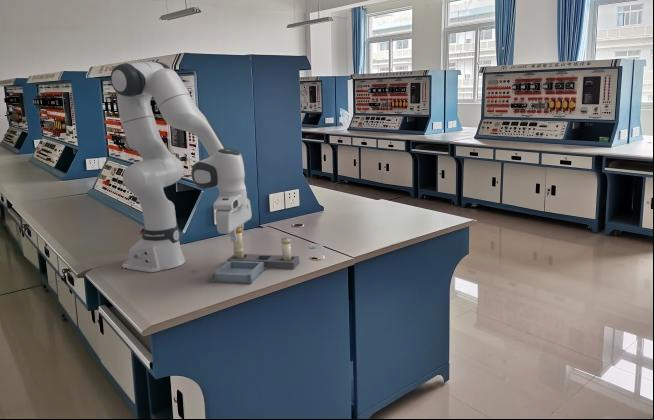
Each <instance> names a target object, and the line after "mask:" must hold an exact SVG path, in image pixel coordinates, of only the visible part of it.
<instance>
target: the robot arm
mask: <svg viewBox="0 0 654 420" xmlns="http://www.w3.org/2000/svg"><path fill="white" fill-rule="evenodd" d="M110 83H111V86H112V88H113V90H114V92H115V93H116V94H117V97H116V100H117V101H116V103H117V109H118V114H119V115H118V116H119V119H120V123H121V126H122V129H123V132H124V135H125V138H126V141H127V145H128V146H129V147H130V148H131V149H133V150H135V151H136V152H137V153H138V155H140V157H141V159H142V160H140V161H136V162H134V163H133V164H131V165H129V166H128V167H126V168H125V169H124V171H123V173H122V181H123V185H124V187H125V188H126V189H127V190H128V191H129V192H130V193H132V194H133V195H135V197H136V199H137V201H138V202H139V205H140V209H141V212H142V216H143V217H142V218H143V224H144V228H142V229H141V230H139V231H138V235H141V234H142V235H141V238H140V239H138V241H137V242H135V243H134V244H133V245H132V246H131V247H130V249H129V250H128V253H127V260H125V261H124V262H123V263H122V267H123V268H122V269H125V268H127V269H128V270H132V271H138V272H139V271H140V272H146V273H155V272H156V273H157V272H159V271H163V270H170V269H174V268H178V267H180V266H182V265H184V263H185V262H186V258H185V256H184V254H183V253H184V252H183V251H182V247H181V243H180V231H179V225H178V223H177V217H176V216H177V215H176V209H175V208H176V207H175V204H174V202H172V200H169V199H168V198H167V196H166V194H165V191H164V188H167V187H169V186H172V185H175V184H176V183H177V182H178V181H179V180H181V178H182V177H183V176H184V166H183V163H182V161H181V160H180V159H179V158H177V157H176V156H175V155H173V154H172V153H171V152H170V150H169V149H168V147H167V146H166V145H165V142H164V141H163V139H162V137H161V134H160V131H159V129H158V124H157V122H156V119H155V115H154V113H153V109H152V106H151V100H152V98H153V99H154V102H155V104H156V105H157V109H158V110H159V112H160V114H161V116H162V118H163V119H164V121H165V122H166V123H167V124H168V125H169V126H170V127H172V128H174V129H177V130H181V131H184V132H187V133H188V134H189V133H190V134H192V135H194V136H195V137H196V138H197V139H198V140H199V141H200V142H201V145H202V146H203V147H204V149H205V150H206V152H207V154H208V155H209V157H207V158H205V159H201V160H199V161H197V162H195V163H194V164H193V166H192V167H191V173H190V174H191V179H192V182H193V183H194V184H195V187H198V189H200V190H201V189H202V190H209V189H213V188H217V189H218V196H217V198H216V200H215V201H214V203H213V205H212V206H213V210H216V211H215V214H214V215H215V222H216V230H217V232H218V234H222V235H228V234H229V236H230V241H231V242H232V243H233V242H236V241H237V240H238V235H236V233H235V232H236V228H238V227H239V226H241V229H242V237H243V238H244V228H245V223H247V222H248V221H250V220H251V219H252V215H253V213H252V205H251V201H250V199H249V198H248V196H247V195H248V194H247V193H248V192H247V187H246V184H245V183H246V182H245V177H246V172H245V166H244V165H245V164H244V160H243V156H242V154H241V152H240V151H238V150H237V149H233V148H226V146H225V144H224V142H223V141H222V139H221V137H220V136H219V134H218V133H217V131H216V130H215V128H214V126H213V125H212V123H211V122H210V120H209V119H208V118H207V117H206V116H205V115H204V113H202V111H200V108H198V106H197V105H196V104H195V102H194V100H193V98H192V97H191V95H190V92H189V91H188V89H187V86H186V85H185V83H184V82H183V80H182V79H181V78H180V75H179V74H178V73H177V72H176V71H175V70H174V69H171V67H170V66H169V65H168V64H166V63H164V62H161V61H149V60H147V61H143V60H141V61H138V62H130V63H127V62H124V63H121V64H118V65H116V66H114V67H113V68H112V70H111V73H110ZM127 269H126V270H127Z"/></svg>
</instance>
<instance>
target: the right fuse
mask: <svg viewBox="0 0 654 420" xmlns="http://www.w3.org/2000/svg"><path fill="white" fill-rule="evenodd" d="M291 239H292V238H291V237H281V251H282V255H283V261H292V260H291V256H292V247H291V244H292V243H291V242H292V241H291Z"/></svg>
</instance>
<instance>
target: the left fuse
mask: <svg viewBox="0 0 654 420" xmlns="http://www.w3.org/2000/svg"><path fill="white" fill-rule="evenodd" d="M243 241H244V236H243V237H242V242H243ZM243 243H244V242H243ZM234 254H235V253H234ZM244 254H245V251H244V252H243V253H241V254H235V256H236V259H244Z"/></svg>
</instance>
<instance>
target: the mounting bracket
mask: <svg viewBox="0 0 654 420" xmlns="http://www.w3.org/2000/svg"><path fill="white" fill-rule="evenodd" d="M323 247H325V244H320V243H311V244H309V249H310V250H314V249H317V248H319V249H321V248H323Z"/></svg>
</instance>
